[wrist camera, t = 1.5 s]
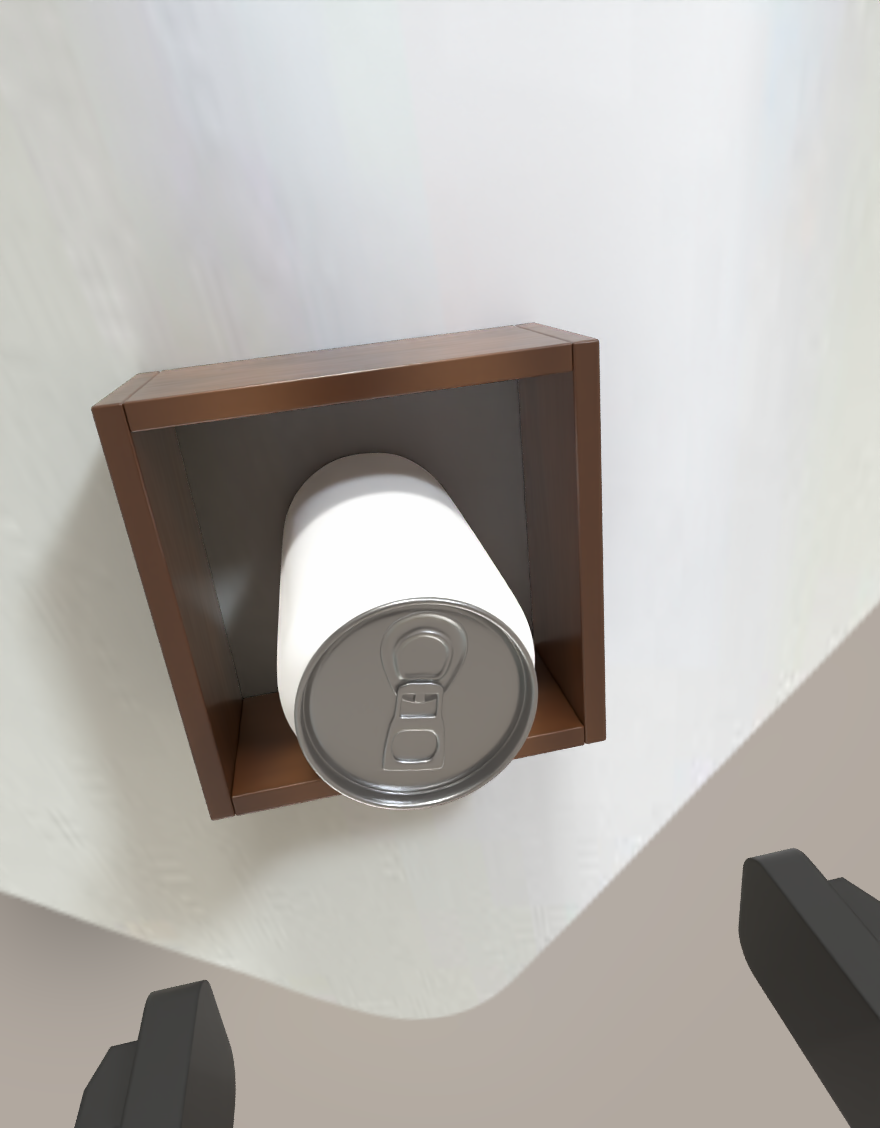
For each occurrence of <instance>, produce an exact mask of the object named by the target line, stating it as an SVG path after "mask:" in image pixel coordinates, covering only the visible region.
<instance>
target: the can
mask: <svg viewBox="0 0 880 1128" xmlns="http://www.w3.org/2000/svg"><path fill="white" fill-rule="evenodd" d="M277 682H278V690H279V696H280V701H281V705H282V708H283V711H284V714H285V717H286V719H287V721H288V723H289V725H290V727H291V728H292V730H293V732H294V733H295V735H296V736H297V739H298V742H299V745H300V748H301V750H302V752H303V754H304V756H305V758H306V760H307V762H308V763H309V765H310V766H311V767H312V769H313V770H314V771H315V772H316V774H317V775H318V776H319V777H320V778H321V779H322V780H323V781H324V782H326V783H327V784H328V785H329V786H330V787H332V788H333V789H335V790H336V791H338V792H339V793H341V794H343V795H344V796H346V797H348V798H350V799H353V800H355V801H357V802H360V803H363V804H366V805H370V806H374V807H379V808H385V809H395V810H412V809H423V808H429V807H434V806H438V805H442V804H445V803H449V802H452V801H454V800H457V799H459V798H462V797H464V796H466V795H468V794H470V793H472V792H474V791H476V790H477V789H479V788H481V787H482V786H484V785H485V784H487V783H488V782H489V781H491V780H492V779H493V778H495V777H496V776H497V775H498V774H499V773H500V772H501V771H502V770H503V769H505V768H506V766H507V765H508V764H509V763H510V762H511V761H512V760H513V759H514V757H515V756H516V755H517V753H518V752H519V750H520V749H521V747H522V746H523V744H524V742H525V741H526V739H527V737H528V735H529V732H530V730H531V727H532V725H533V722H534V718H535V714H536V710H537V703H538V683H537V677H536V672H535V652H534V644H533V638H532V634H531V631H530V628H529V625H528V622H527V620H526V617H525V615H524V613H523V611H522V609H521V607H520V605H519V603H518V602H517V600H516V598H515V596H514V595H513V593H512V592H511V590H510V588H509V587H508V585H507V584H506V582H505V580H504V579H503V577H502V576H501V574H500V573H499V571H498V569H497V568H496V566H495V565H494V563H493V562H492V560H491V559H490V557H489V555H488V554H487V552H486V551H485V549H484V548H483V546H482V545H481V543H480V542H479V540H478V539H477V537H476V536H475V534H474V532H473V531H472V529H471V528H470V526H469V525H468V523H467V522H466V520H465V519H464V517H463V516H462V514H461V513H460V511H459V510H458V508H457V507H456V505H455V504H454V502H453V501H452V499H451V498H450V496H449V495H448V494H447V492H446V491H445V489H444V488H443V487H442V485H441V484H440V483H439V482H438V481H437V480H436V479H435V478H434V477H433V476H432V475H431V474H430V473H429V472H428V471H426V470H425V469H424V468H422V467H421V466H419V465H418V464H416V463H414V462H412V461H411V460H409V459H406V458H404V457H402V456H398V455H394V454H388V453H363V454H356V455H351V456H347V457H343V458H340V459H338V460H335V461H333V462H331V463H329V464H327V465H325V466H324V467H322V468H321V469H319V470H318V471H317V472H315V473H314V474H313V475H312V476H311V477H310V478H309V479H308V480H307V481H306V482H305V483H304V484H303V485H302V486H301V488H300V489H299V490H298V492H297V493H296V495H295V497H294V499H293V500H292V502H291V505H290V507H289V510H288V513H287V516H286V520H285V524H284V532H283V543H282V559H281V577H280V597H279V619H278V643H277Z"/></svg>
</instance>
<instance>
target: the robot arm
mask: <svg viewBox="0 0 880 1128" xmlns="http://www.w3.org/2000/svg"><path fill="white" fill-rule="evenodd" d="M739 938H740V943H741V946H742V950H743V953H744V956H745V959H746V961H747V963H748V965H749V967H750V969H751V971H752V973H753V975H754V976H755V978H756V980H757V981H758V983H759V984H760V986H761V987H762V989H763V991H764V992H765V994H766V995H767V997H768V998H769V1000H770V1001H771V1003H772V1005H773V1006H774V1008H775V1009H776V1011H777V1013H778V1014H779V1015H780V1017H781V1019H782V1020H783V1022H784V1023H785V1025H786V1027H787V1028H788V1030H789V1031H790V1033H791V1034H792V1036H793V1038H794V1039H795V1041H796V1042H797V1044H798V1046H799V1047H800V1049H801V1050H802V1052H803V1053H804V1055H805V1056H806V1058H807V1060H808V1061H809V1063H810V1064H811V1066H812V1067H813V1069H814V1071H815V1072H816V1074H817V1075H818V1077H819V1078H820V1080H821V1082H822V1083H823V1085H824V1086H825V1088H826V1090H827V1091H828V1093H829V1094H830V1096H831V1097H832V1099H833V1100H834V1102H835V1104H836V1105H837V1107H838V1108H839V1110H840V1111H841V1113H842V1115H843V1116H844V1118H845V1119H846V1121H847V1122H848V1124H849V1125H850V1127H851V1128H880V901H878V900H877V899H875V898H874V897H872V896H871V895H869V894H868V893H866V892H864V891H863V890H861V889H860V888H858V887H857V886H855V885H854V884H852V883H850V882H849V881H847V880H846V879H844V878H843V877H841V878H837V879H833V880H829V881H827V879H826V878H825V877H824V876H823V875H822V874H821V872H820V871H819V870H818V869H817V868H816V866H815V865H814V864H813V863H812V862H811V861H810V859H809V858H808V857H807V856H806V855H805V854H804V853H803V852H801V851H800V850H798V849H795V848H792V849H787V850H783V851H778V852H774V853H769V854H765V855H761V856H756V857H752V858H748V859H747V860H746V861H745V862H744V865H743V876H742V888H741V901H740V915H739ZM234 1110H235V1068H234V1061H233V1054H232V1050H231V1046H230V1043H229V1040H228V1037H227V1034H226V1031H225V1028H224V1025H223V1022H222V1019H221V1016H220V1013H219V1010H218V1007H217V1004H216V1001H215V998H214V995H213V992H212V989H211V986H210V984H209V982H208V981H207V980H202V981H198V982H193V983H189V984H185V985H180V986H176V987H171V988H167V989H163V990H158V991H154V992H152V993H150V995H149V996H148V998H147V1001H146V1004H145V1008H144V1012H143V1017H142V1022H141V1027H140V1032H139V1036H138V1040H137V1041H133V1042H129V1043H124V1044H121V1045H116V1046H112V1047H110V1049H109V1050H108V1052H107V1054H106V1055H105V1057H104V1059H103V1060H102V1062H101V1064H100V1065H99V1067H98V1068H97V1070H96V1072H95V1073H94V1075H93V1077H92V1079H91V1080H90V1082H89V1083H88V1085H87V1087H86V1088H85V1090H84V1093H83V1097H82V1101H81V1104H80V1108H79V1112H78V1116H77V1120H76V1124H75V1127H74V1128H233V1122H234Z"/></svg>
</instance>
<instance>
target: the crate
mask: <svg viewBox="0 0 880 1128" xmlns="http://www.w3.org/2000/svg"><path fill="white" fill-rule="evenodd" d="M515 379H518V391H519V407H520V424H521V440H522V456H523V473H524V489H525V505H526V522H527V538H528V555H529V571H530V587H531V604H532V620H533V636H534V652H535V672H536V677H537V683H538V703H537V710H536V714H535V718H534V722H533V725H532V727H531V730H530V732H529V735H528V737H527V739H526V741H525V742H524V744H523V746H522V747H521V749H520V750H519V752H518V753H517V755H516V756H515V757H514V759H518V758H523V757H527V756H532V755H537V754H542V753H547V752H552V751H557V750H562V749H567V748H571V747H576V746H581V745H584V742H585V743H586V744H589V743H594V742H599V741H604V740H606V707H605V650H604V593H603V535H602V478H601V421H600V363H599V340H598V339H595V338H591V337H587V336H583V335H580V334H576V333H572V332H568V331H564V330H560V329H557V328H553V327H549V326H545V325H541V324H537V323H527V324H520V325H516V326H513V325H511V326H504V327H496V328H488V329H480V330H473V331H465V332H457V333H449V334H442V335H434V336H426V337H418V338H411V339H403V340H395V341H387V342H380V343H372V344H364V345H356V346H349V347H341V348H333V349H326V350H318V351H310V352H302V353H295V354H287V355H279V356H271V357H264V358H256V359H248V360H240V361H233V362H225V363H217V364H209V365H202V366H194V367H186V368H178V369H171V370H163V371H161V372H159V371H156V372H148V373H140V374H137V375H136V376H134V377H133V378H131V379H130V380H129V381H127V382H126V383H124V384H123V385H122V386H120V387H119V388H117V389H116V390H115V391H113V392H112V393H110V394H109V395H108V396H106V397H105V398H104V399H102V400H101V401H99V402H98V403H97V404H95V405H94V406H92V407H91V411H92V414H93V418H94V421H95V425H96V428H97V431H98V435H99V438H100V442H101V445H102V448H103V452H104V455H105V459H106V462H107V466H108V469H109V472H110V476H111V479H112V483H113V486H114V489H115V493H116V496H117V500H118V503H119V507H120V510H121V513H122V517H123V520H124V524H125V527H126V530H127V534H128V537H129V541H130V544H131V547H132V551H133V554H134V558H135V561H136V565H137V568H138V571H139V575H140V578H141V582H142V585H143V588H144V592H145V595H146V599H147V602H148V606H149V609H150V612H151V616H152V619H153V623H154V626H155V629H156V633H157V636H158V640H159V643H160V647H161V650H162V653H163V657H164V660H165V664H166V667H167V670H168V674H169V677H170V681H171V684H172V687H173V691H174V694H175V698H176V701H177V705H178V708H179V711H180V715H181V718H182V722H183V725H184V728H185V732H186V735H187V739H188V742H189V746H190V749H191V752H192V756H193V759H194V763H195V766H196V769H197V773H198V776H199V780H200V783H201V787H202V790H203V793H204V797H205V800H206V804H207V807H208V810H209V814H210V817H211V820H219V819H223V818H228V817H233V816H235V814H236V815H237V816H239V815H244V814H249V813H254V812H259V811H264V810H269V809H274V808H278V807H283V806H288V805H293V804H298V803H303V802H308V801H313V800H317V799H322V798H327V797H332V796H337V795H342V794H341V793H339V792H338V791H336V790H335V789H333V788H332V787H330V786H329V785H328V784H327V783H326V782H324V781H323V780H322V779H321V778H320V777H319V776H318V775H317V774H316V772H315V771H314V770H313V769H312V767H311V766H310V765H309V763H308V762H307V760H306V758H305V756H304V754H303V752H302V750H301V748H300V745H299V742H298V739H297V736H296V735H295V733H294V732H293V730H292V728H291V727H290V725H289V723H288V721H287V719H286V717H285V714H284V711H283V708H282V705H281V701H280V696H279V692H275V693H269V694H264V695H258V696H253V697H248V698H244V699H243V698H242V694H241V690H240V686H239V682H238V678H237V674H236V670H235V666H234V662H233V658H232V654H231V650H230V646H229V642H228V638H227V634H226V630H225V626H224V622H223V618H222V614H221V610H220V606H219V602H218V598H217V594H216V590H215V586H214V582H213V578H212V574H211V570H210V566H209V562H208V558H207V554H206V550H205V546H204V542H203V538H202V534H201V530H200V526H199V522H198V518H197V514H196V510H195V506H194V502H193V498H192V494H191V490H190V486H189V482H188V478H187V474H186V470H185V466H184V462H183V458H182V454H181V450H180V446H179V442H178V438H177V434H176V430H175V427H177V426H184V425H191V424H198V423H205V422H213V421H220V420H227V419H234V418H241V417H249V416H256V415H263V414H270V413H278V412H285V411H292V410H299V409H306V408H314V407H321V406H328V405H335V404H342V403H350V402H357V401H364V400H371V399H378V398H386V397H393V396H400V395H407V394H414V393H422V392H429V391H436V390H443V389H451V388H458V387H465V386H472V385H479V384H487V383H494V382H501V381H508V380H515Z"/></svg>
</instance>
